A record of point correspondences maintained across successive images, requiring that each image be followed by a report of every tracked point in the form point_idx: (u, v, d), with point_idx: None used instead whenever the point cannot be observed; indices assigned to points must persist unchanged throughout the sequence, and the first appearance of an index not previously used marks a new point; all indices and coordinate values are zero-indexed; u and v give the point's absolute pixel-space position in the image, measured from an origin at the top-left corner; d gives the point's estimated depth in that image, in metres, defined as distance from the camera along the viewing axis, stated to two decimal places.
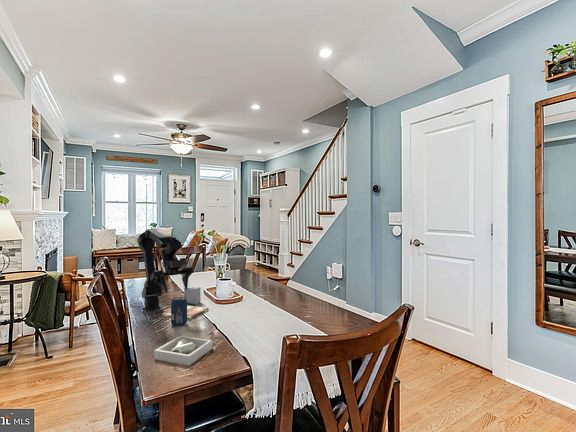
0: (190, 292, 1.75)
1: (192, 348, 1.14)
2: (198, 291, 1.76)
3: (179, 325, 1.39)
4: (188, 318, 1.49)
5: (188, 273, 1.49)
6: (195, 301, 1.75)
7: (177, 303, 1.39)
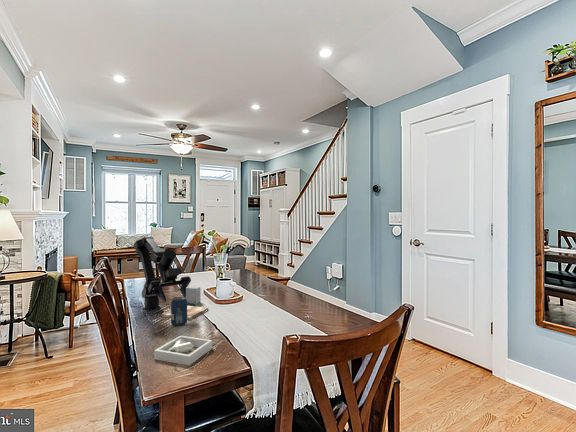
0: (190, 292, 1.75)
1: (190, 348, 1.14)
2: (198, 291, 1.76)
3: (179, 325, 1.39)
4: (188, 318, 1.49)
5: (185, 282, 1.51)
6: (195, 301, 1.75)
7: (177, 303, 1.39)
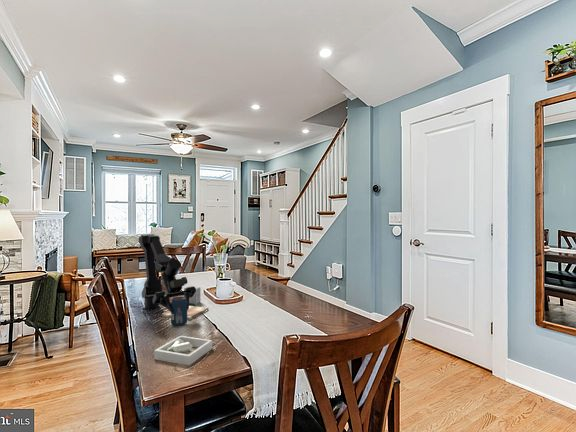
0: None
1: (188, 348, 1.14)
2: (198, 291, 1.76)
3: (179, 325, 1.39)
4: (188, 318, 1.49)
5: (188, 293, 1.47)
6: (195, 301, 1.75)
7: (177, 303, 1.39)
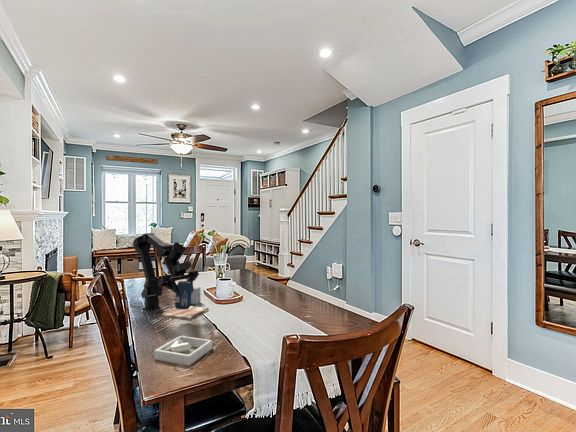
0: None
1: (187, 348, 1.13)
2: (198, 291, 1.76)
3: (184, 308, 1.44)
4: (188, 318, 1.49)
5: (192, 276, 1.52)
6: (195, 301, 1.75)
7: (184, 286, 1.44)
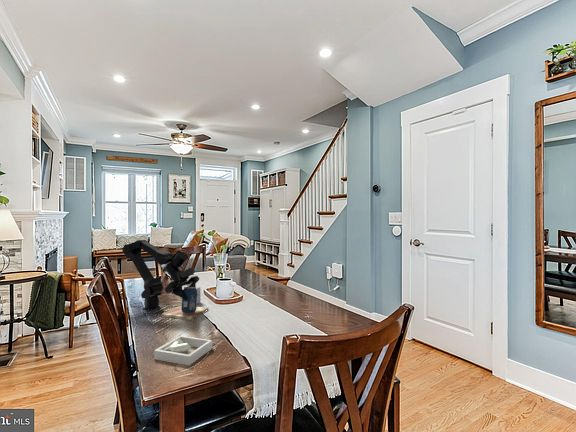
0: None
1: (186, 349, 1.13)
2: (198, 291, 1.76)
3: (192, 311, 1.53)
4: (188, 318, 1.49)
5: (195, 281, 1.61)
6: None
7: (191, 291, 1.53)
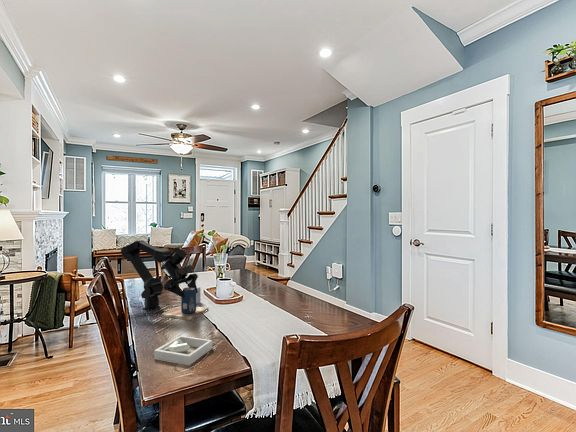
0: None
1: (185, 349, 1.13)
2: (198, 291, 1.76)
3: (191, 313, 1.52)
4: (188, 318, 1.49)
5: (195, 278, 1.62)
6: None
7: (190, 293, 1.52)
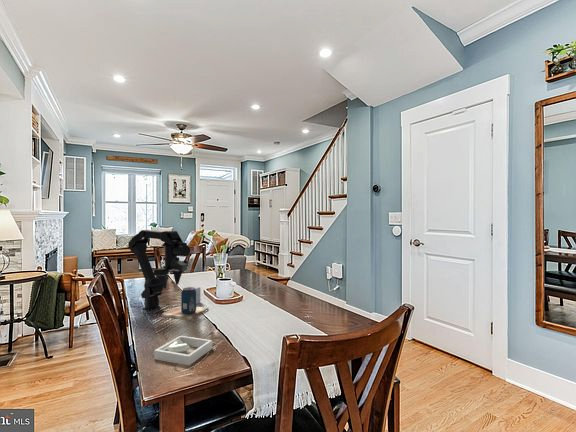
0: None
1: (185, 349, 1.13)
2: (198, 291, 1.76)
3: (191, 313, 1.52)
4: (188, 318, 1.49)
5: (183, 271, 1.65)
6: None
7: (190, 293, 1.52)
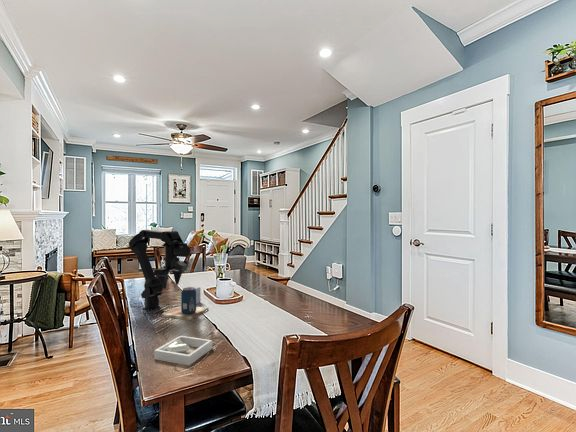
0: None
1: (184, 350, 1.12)
2: (198, 291, 1.76)
3: (191, 313, 1.52)
4: (188, 318, 1.49)
5: (183, 272, 1.65)
6: None
7: (190, 293, 1.52)
